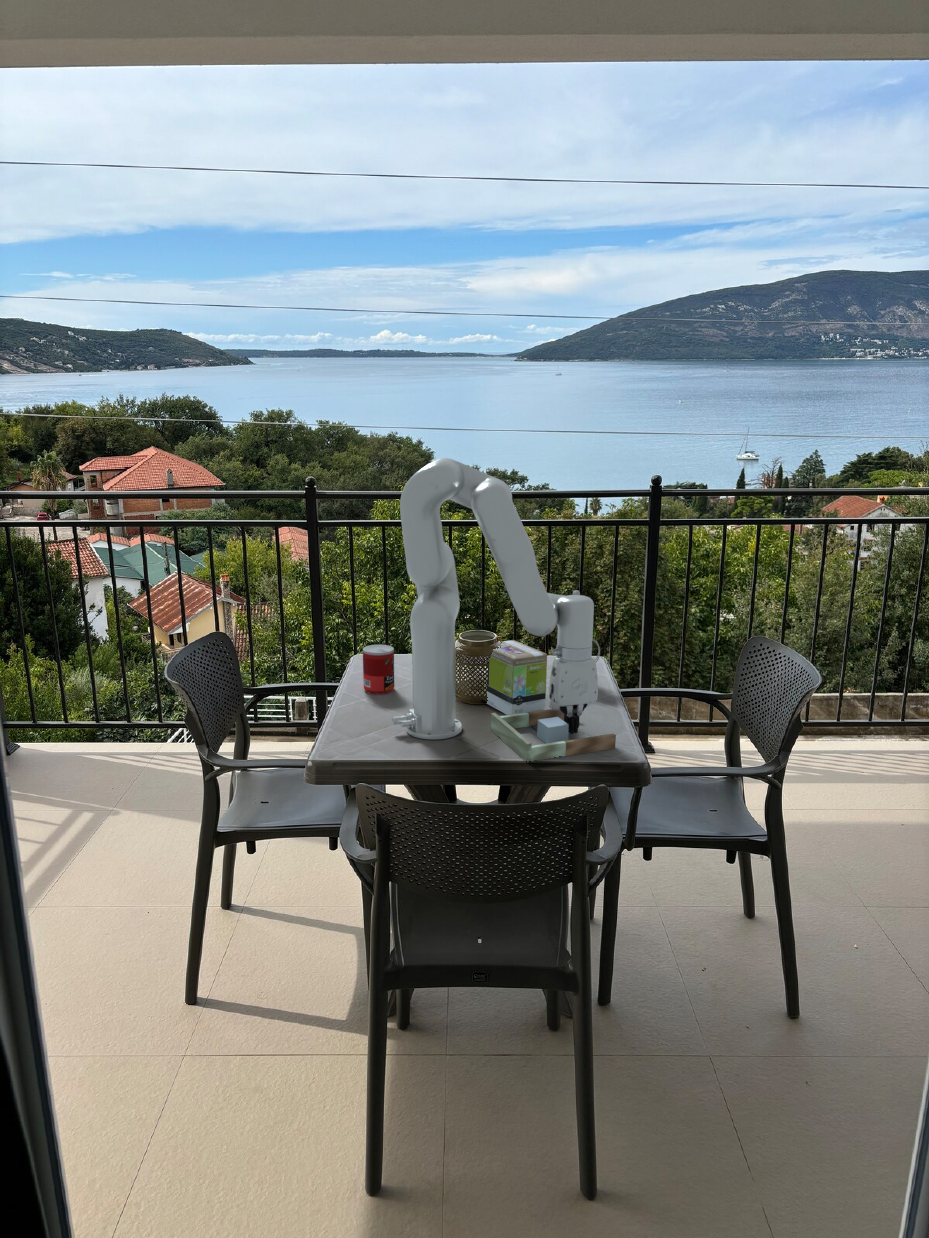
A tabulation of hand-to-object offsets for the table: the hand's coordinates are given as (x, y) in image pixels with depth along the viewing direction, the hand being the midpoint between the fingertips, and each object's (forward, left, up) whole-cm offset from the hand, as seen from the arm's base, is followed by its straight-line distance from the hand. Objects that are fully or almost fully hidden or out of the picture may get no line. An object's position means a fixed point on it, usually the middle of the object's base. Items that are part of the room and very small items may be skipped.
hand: (571, 731), depth 194 cm
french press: (+19, +32, -1) cm, 37 cm away
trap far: (-3, +6, -1) cm, 7 cm away
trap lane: (-5, 0, -1) cm, 5 cm away
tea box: (-4, +22, -1) cm, 22 cm away
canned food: (-31, +45, -1) cm, 55 cm away
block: (-5, 0, -1) cm, 5 cm away
